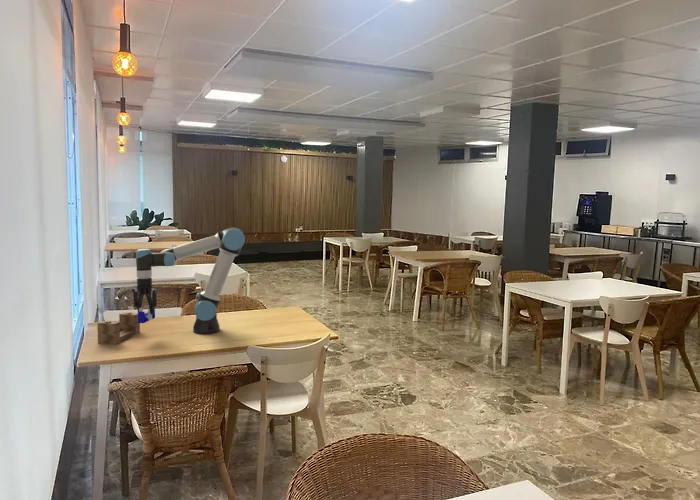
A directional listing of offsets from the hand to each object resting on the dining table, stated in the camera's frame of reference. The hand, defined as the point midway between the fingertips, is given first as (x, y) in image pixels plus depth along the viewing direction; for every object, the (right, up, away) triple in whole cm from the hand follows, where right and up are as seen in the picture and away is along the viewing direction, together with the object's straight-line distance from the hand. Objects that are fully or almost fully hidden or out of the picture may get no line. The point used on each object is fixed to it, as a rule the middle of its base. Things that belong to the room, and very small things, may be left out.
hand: (145, 319), depth 276 cm
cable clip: (0, -1, 0) cm, 1 cm away
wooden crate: (-16, -10, +3) cm, 19 cm away
